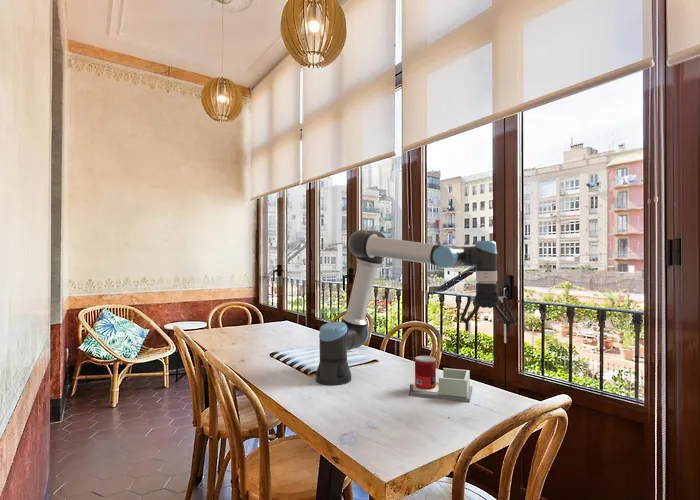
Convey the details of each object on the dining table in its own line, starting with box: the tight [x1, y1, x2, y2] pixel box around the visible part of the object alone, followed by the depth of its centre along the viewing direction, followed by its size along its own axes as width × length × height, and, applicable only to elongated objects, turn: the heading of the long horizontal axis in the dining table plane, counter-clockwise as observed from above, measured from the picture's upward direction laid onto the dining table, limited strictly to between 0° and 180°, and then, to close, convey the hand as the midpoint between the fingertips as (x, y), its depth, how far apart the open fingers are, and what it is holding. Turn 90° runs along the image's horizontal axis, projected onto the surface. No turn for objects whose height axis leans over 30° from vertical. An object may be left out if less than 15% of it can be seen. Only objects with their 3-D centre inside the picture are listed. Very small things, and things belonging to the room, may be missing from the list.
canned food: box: [414, 355, 437, 389], centre depth 161 cm, size 8×8×11 cm
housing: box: [438, 367, 471, 397], centre depth 157 cm, size 10×14×6 cm
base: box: [408, 382, 473, 403], centre depth 158 cm, size 22×15×4 cm
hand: (487, 341), depth 153 cm, fingers open, 12 cm apart
